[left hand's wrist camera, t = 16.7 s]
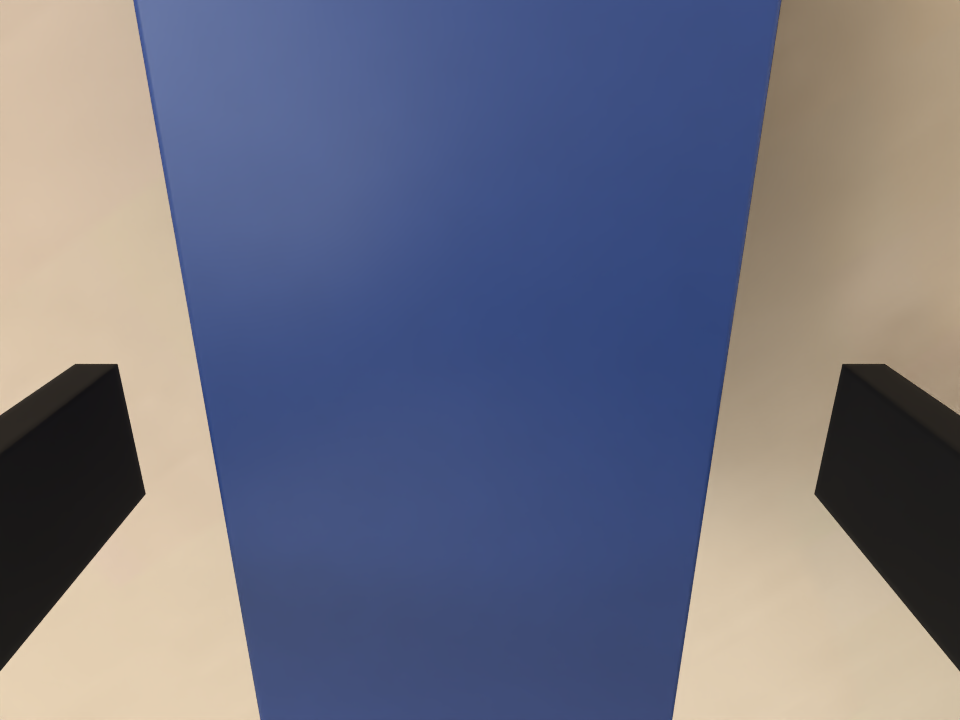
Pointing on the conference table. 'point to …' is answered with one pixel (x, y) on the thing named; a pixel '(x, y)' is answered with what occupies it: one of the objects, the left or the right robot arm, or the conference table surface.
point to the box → (461, 333)
